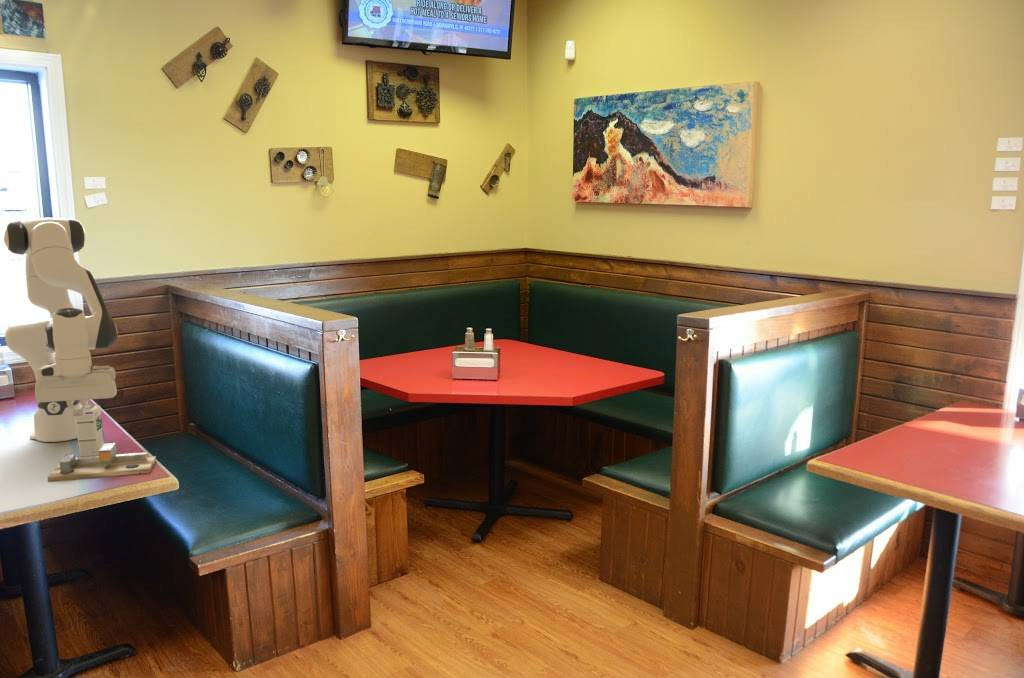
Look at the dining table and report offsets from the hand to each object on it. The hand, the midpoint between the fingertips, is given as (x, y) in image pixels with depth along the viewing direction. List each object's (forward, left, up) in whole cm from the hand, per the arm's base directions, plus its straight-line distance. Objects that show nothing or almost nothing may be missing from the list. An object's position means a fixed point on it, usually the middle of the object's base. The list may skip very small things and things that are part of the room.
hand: (78, 415), depth 230 cm
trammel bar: (-1, +5, -16) cm, 16 cm away
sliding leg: (0, +6, -15) cm, 17 cm away
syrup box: (-19, -2, -17) cm, 25 cm away
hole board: (-1, +5, -17) cm, 18 cm away
